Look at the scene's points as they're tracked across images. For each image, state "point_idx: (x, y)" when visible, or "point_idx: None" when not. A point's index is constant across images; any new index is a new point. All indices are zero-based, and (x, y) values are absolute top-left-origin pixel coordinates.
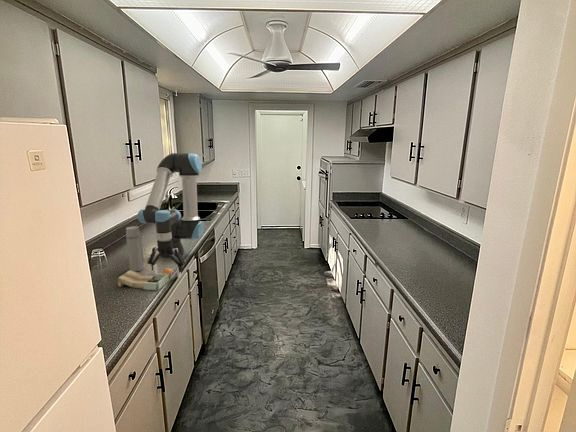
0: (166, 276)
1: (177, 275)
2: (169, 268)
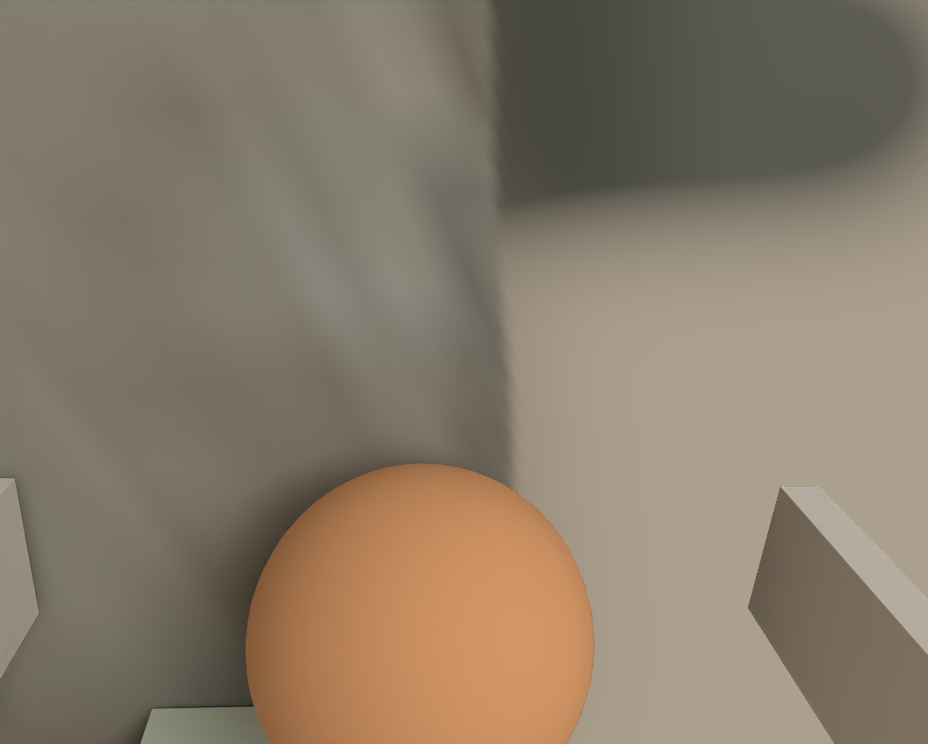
0: None
1: (787, 668)
2: (528, 730)
